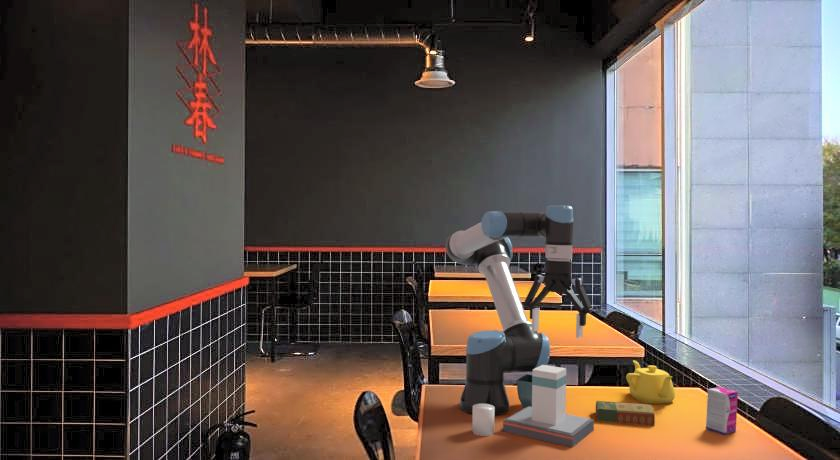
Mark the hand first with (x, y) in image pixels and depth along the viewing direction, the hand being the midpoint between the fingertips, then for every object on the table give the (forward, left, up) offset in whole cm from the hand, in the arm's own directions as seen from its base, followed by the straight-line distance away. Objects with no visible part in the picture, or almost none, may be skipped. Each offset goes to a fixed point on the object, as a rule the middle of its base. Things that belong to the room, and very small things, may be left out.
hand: (556, 334), depth 177 cm
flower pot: (-11, +11, -26) cm, 30 cm away
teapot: (+15, +43, -26) cm, 52 cm away
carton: (+15, +17, -27) cm, 35 cm away
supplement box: (+40, +24, -26) cm, 53 cm away
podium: (+1, -6, -26) cm, 27 cm away
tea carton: (+1, -7, -23) cm, 24 cm away
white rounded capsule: (-13, -18, -26) cm, 34 cm away
